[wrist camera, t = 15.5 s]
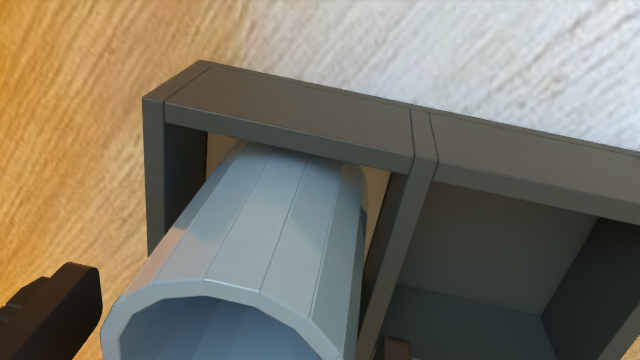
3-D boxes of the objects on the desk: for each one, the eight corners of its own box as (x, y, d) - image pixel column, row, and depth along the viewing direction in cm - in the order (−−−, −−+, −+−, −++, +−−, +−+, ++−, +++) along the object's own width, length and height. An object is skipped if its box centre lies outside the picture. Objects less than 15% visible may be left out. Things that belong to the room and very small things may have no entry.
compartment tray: (190, 351, 26) (153, 427, 22) (199, 59, 17) (140, 96, 13) (483, 420, 25) (501, 512, 21) (647, 153, 16) (728, 223, 12)
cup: (218, 233, 20) (109, 422, 12) (226, 107, 17) (88, 252, 9) (351, 263, 20) (325, 475, 12) (383, 140, 17) (377, 318, 9)
